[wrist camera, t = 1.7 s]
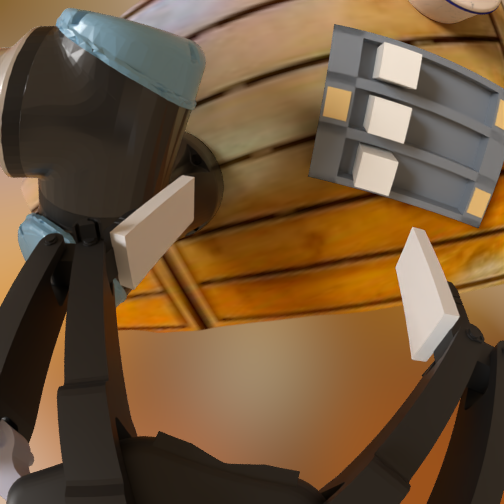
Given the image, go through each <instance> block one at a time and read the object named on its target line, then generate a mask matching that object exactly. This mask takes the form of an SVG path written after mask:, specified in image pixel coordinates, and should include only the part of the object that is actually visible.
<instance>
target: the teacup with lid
mask: <svg viewBox="0 0 504 504" xmlns="http://www.w3.org/2000/svg"><path fill="white" fill-rule="evenodd" d="M409 2H410V3H411V4H412V5H413V6H414V7H415V8H416V9H417V10H418V11H419V12H421V13H422V14H423V15H425V16H427V17H428V18H430V19H432V20H435V21H437V22H441V23H447V24H451V23H457V22H460V21H462V20H465V19H467V18H470V17H473V16H475V15H478V14H489V13H491V12H493V11H495V10H496V9H497V8H498V6H499V4H500V2H501V0H409Z"/></svg>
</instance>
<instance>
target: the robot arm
mask: <svg viewBox="0 0 504 504" xmlns="http://www.w3.org/2000/svg"><path fill="white" fill-rule="evenodd" d="M205 64H206V59H205V55H204V52H203V50H202V49H201V47H200V46H199V45H198V44H196V43H195V42H193V41H191V40H189V39H186V38H184V37H181V36H178V35H175V34H172V33H169V32H166V31H163V30H160V29H157V28H154V27H151V26H147V25H144V24H141V23H137V22H134V21H130V20H126V19H123V18H119V17H114V16H110V15H105V14H101V13H96V12H91V11H86V10H80V9H74V8H68V9H66V10H64V11H63V13H62V14H61V16H60V17H59V18H58V19H57V23H56V26H48V27H47V26H44V27H42V26H41V27H35V28H33V29H31V30H30V31H29V32H28V33H27V34H25V35H24V36H23V37H22V38H21V39H20V40H19V41H18V42H17V43H16V44H15V45H14V46H12V47H7V48H0V167H1V168H2V170H3V171H4V173H5V174H6V175H7V176H8V177H13V178H15V177H28V178H38V184H39V208H38V210H37V211H36V212H34V213H32V214H29V215H27V217H26V219H25V221H24V222H23V223H22V224H21V225H20V227H19V230H18V242H19V246H20V249H21V252H22V254H23V257H24V259H25V261H26V263H25V264H24V266H23V267H22V269H21V271H20V272H19V274H18V276H17V278H16V279H15V281H14V283H13V284H12V286H11V288H10V290H9V292H8V294H7V295H6V297H5V299H4V301H3V303H2V304H1V306H0V495H1V497H3V498H4V499H5V500H6V501H7V502H6V504H400V503H401V501H402V500H403V499H404V498H405V496H406V495H407V493H408V492H409V490H410V487H411V486H410V484H409V481H410V479H411V478H412V476H413V475H414V474H415V472H416V471H417V470H418V468H419V467H420V465H421V464H422V462H423V461H424V459H425V458H426V456H427V455H428V454H429V452H430V451H431V449H432V447H433V446H434V444H435V443H436V441H437V439H438V437H439V436H440V434H441V433H442V431H443V429H444V428H445V426H446V424H447V422H448V421H449V419H450V417H451V415H452V413H453V412H454V409H455V408H456V406H457V404H458V402H459V400H460V404H459V408H458V413H457V417H456V421H455V425H454V428H453V432H452V435H451V439H450V442H449V446H448V449H447V452H446V455H445V458H444V461H443V464H442V467H441V469H440V472H439V475H438V478H437V480H436V483H435V485H434V487H433V490H432V492H431V495H430V497H429V499H428V502H427V504H500V502H501V498H502V494H503V491H504V341H500V342H499V343H498V344H497V345H496V346H495V347H493V346H491V345H489V344H487V343H485V342H484V337H483V334H482V333H481V331H480V330H479V329H478V328H477V327H476V326H474V325H473V324H470V323H469V320H468V317H467V314H466V311H465V309H464V306H463V305H462V304H463V303H462V301H461V299H460V296H459V293H458V290H457V289H456V288H455V286H454V285H453V284H452V283H451V282H448V281H447V280H446V278H445V275H444V273H443V270H442V268H441V266H440V263H439V261H438V259H437V256H436V254H435V252H434V250H433V247H432V245H431V243H430V241H429V239H428V237H427V235H426V233H425V230H422V229H419V228H415V227H412V229H411V232H410V234H409V237H408V239H407V242H406V244H405V247H404V249H403V251H402V254H401V256H400V258H399V261H398V263H397V265H396V267H395V268H396V272H397V277H398V281H399V286H400V291H401V296H402V301H403V306H404V311H405V317H406V323H407V329H408V336H409V342H410V350H411V358H412V360H419V361H427V360H428V358H430V356H431V355H432V354H433V353H434V358H435V361H434V362H433V363H432V364H431V365H430V367H429V368H428V369H427V370H426V371H425V373H424V374H423V375H422V376H423V377H422V379H421V380H420V382H419V383H418V384H417V386H416V387H415V389H414V390H413V391H412V393H411V394H410V395H409V397H408V398H407V399H406V401H405V402H404V403H403V405H402V406H401V407H400V408H399V410H398V411H397V412H396V413H395V415H394V416H393V417H392V419H391V420H390V421H389V422H388V423H387V424H386V426H385V427H384V428H383V429H382V430H381V431H380V433H379V434H378V435H377V436H376V437H375V438H374V439H373V440H372V442H371V443H370V444H369V445H368V446H367V447H366V448H365V449H364V450H363V451H362V452H361V453H360V454H359V456H357V458H355V459H354V461H353V462H352V463H351V464H349V465H348V467H346V468H345V469H344V470H343V471H342V472H341V473H340V474H339V475H338V476H337V477H336V478H334V479H333V480H332V481H330V482H329V483H328V484H326V485H325V486H324V487H323V488H321V489H320V490H319V491H318V490H317V489H316V488H314V487H313V486H312V485H310V484H309V483H307V482H305V481H303V480H301V479H299V478H298V477H299V473H300V472H299V471H294V470H289V469H283V468H278V467H273V466H269V465H250V464H248V465H247V464H227V463H223V462H221V461H219V460H218V459H216V458H214V457H213V456H211V455H209V454H207V453H206V452H204V451H203V450H201V449H199V448H198V447H196V446H195V445H193V444H191V443H188V442H186V441H183V440H181V439H178V438H175V437H173V436H170V435H167V434H165V433H163V432H160V431H159V432H158V434H157V436H156V437H148V436H147V437H146V436H140V437H138V436H137V433H136V430H135V427H134V425H133V422H132V419H131V415H130V411H129V405H128V400H127V394H126V389H125V382H124V377H123V370H122V362H121V355H120V347H119V339H118V329H117V318H116V307H117V306H118V305H119V304H120V303H122V302H124V301H125V300H126V297H127V295H128V294H129V292H130V291H131V290H132V289H133V290H134V289H135V288H136V287H137V285H138V284H139V283H140V282H141V281H142V279H143V278H144V277H145V276H146V275H147V273H148V272H149V271H150V270H151V269H152V267H153V266H154V265H155V264H156V263H157V262H158V260H159V259H160V258H161V257H162V256H163V255H164V253H165V252H166V251H167V250H168V249H169V248H170V246H171V245H172V244H173V243H174V242H175V241H176V240H178V239H181V238H183V237H185V236H188V235H191V234H193V233H196V232H197V231H199V230H200V229H202V228H203V227H204V226H205V225H206V224H207V223H208V222H209V221H210V220H211V219H212V217H213V216H214V215H215V214H216V212H217V210H218V209H219V207H220V204H221V201H222V196H223V179H222V174H221V170H220V167H219V165H218V163H217V161H216V159H215V157H214V155H213V154H212V153H211V151H210V150H209V149H208V148H207V147H206V145H204V144H203V143H202V142H201V141H200V140H199V139H197V138H196V137H194V136H192V135H190V134H188V133H186V132H184V131H185V128H186V125H187V122H188V119H189V116H190V113H191V110H194V108H195V106H196V101H195V98H196V95H197V91H198V88H199V85H200V82H201V78H202V75H203V72H204V69H205ZM66 312H67V315H66V331H65V357H64V360H65V361H64V363H65V365H64V375H65V376H64V378H65V380H64V385H63V386H61V387H59V388H58V391H57V408H58V424H59V436H60V445H61V453H62V461H63V463H61V464H58V465H55V466H52V467H49V468H46V469H43V470H40V471H37V472H33V473H30V472H29V466H31V465H32V464H33V462H34V456H33V454H32V453H31V452H30V446H29V441H30V439H31V436H32V433H33V430H34V426H35V422H36V418H37V414H38V409H39V404H40V400H41V395H42V391H43V387H44V383H45V379H46V375H47V371H48V368H49V364H50V361H51V357H52V353H53V350H54V347H55V344H56V341H57V338H58V335H59V332H60V329H61V326H62V323H63V320H64V317H65V314H66ZM460 398H461V399H460Z"/></svg>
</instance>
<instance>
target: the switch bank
mask: <svg viewBox="0 0 504 504" xmlns="http://www.w3.org/2000/svg"><path fill="white" fill-rule="evenodd" d="M384 42H387V43H390V44H393V45H396V46H399V47H402V48H405V49H408V50H411V51H414V52H417V53H419V54H422V60H421V66H420V72H419V78H418V83H417V88H416V89H407V88H402V87H399V86H396V85H393V84H390V83H387V82H383V81H380V80H377V79H373V78H372V77H373V71H374V65H375V59H376V53H377V48H378V47H379V46H380V45H382V44H383V43H384ZM369 95H373V96H376V97H380V98H383V99H386V100H389V101H393V102H396V103H399V104H402V105H405V106H407V107H410V108H412V112H411V116H410V121H409V125H408V129H407V133H406V137H405V141H404V144H402V143H399V142H396V141H393V140H390V139H387V138H383V137H380V136H377V135H373V134H370V133H367V131H366V129H365V128H364V126H363V122H364V118H365V113H366V108H367V103H368V98H369ZM359 142H362V143H366V144H369V145H373V146H376V147H380V148H383V149H386V150H390V151H391V153H392V154H393V155H394V157H395V158H396V159H397V161H398V162H399V163H398V167H397V170H396V173H395V177H394V180H393V183H392V187H391V190H390V193H389V196H386V195H383V194H380V193H376V192H373V191H369V190H365V189H362V188H358V187H354V181H353V174H352V170H353V166H354V162H355V158H356V153H357V149H358V145H359ZM503 162H504V89H503V88H501V87H500V86H498V85H496V84H495V83H493V82H491V81H489V80H487V79H486V78H484V77H482V76H480V75H478V74H476V73H474V72H472V71H470V70H468V69H466V68H464V67H462V66H460V65H458V64H456V63H454V62H452V61H449V60H447V59H445V58H442V57H440V56H438V55H435V54H433V53H430V52H428V51H425V50H423V49H420V48H417V47H415V46H412V45H409V44H406V43H403V42H400V41H397V40H394V39H391V38H388V37H384V36H381V35H377V34H374V33H370V32H366V31H362V30H358V29H354V28H350V27H345V26H341V25H336V24H334V30H333V37H332V44H331V51H330V57H329V64H328V70H327V76H326V82H325V88H324V94H323V100H322V106H321V111H320V117H319V123H318V128H317V133H316V139H315V144H314V149H313V154H312V160H311V165H310V170H309V175H308V177H313V178H317V179H321V180H325V181H329V182H333V183H337V184H341V185H345V186H349V187H352V188H356V189H360V190H364V191H367V192H371V193H374V194H378V195H381V196H385V197H388V198H391V199H395V200H398V201H401V202H405V203H408V204H411V205H414V206H417V207H420V208H423V209H426V210H429V211H432V212H435V213H438V214H441V215H444V216H447V217H450V218H452V219H455V220H458V221H461V222H463V223H466V224H469V225H471V226H474V227H477V228H479V226H480V223H481V221H482V219H483V216H484V214H485V212H486V209H487V207H488V204H489V202H490V199H491V197H492V194H493V191H494V189H495V186H496V183H497V180H498V177H499V174H500V171H501V168H502V165H503Z"/></svg>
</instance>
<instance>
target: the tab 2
mask: <svg viewBox="0 0 504 504" xmlns="http://www.w3.org/2000/svg"><path fill="white" fill-rule="evenodd" d="M411 112H412V108H410V107H407V106H405V105H402V104H399V103H396V102H393V101H389V100H386V99H383V98H380V97H376V96H373V95H369V98H368V103H367V108H366V113H365V118H364V122H363V126H364V128H365V129H366V131H367V133H370V134H373V135H377V136H380V137H383V138H387V139H390V140H393V141H396V142H399V143H402V144H404V141H405V137H406V133H407V129H408V125H409V121H410V116H411Z"/></svg>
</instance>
